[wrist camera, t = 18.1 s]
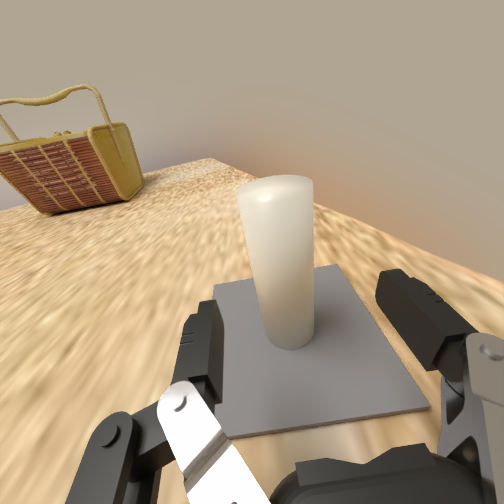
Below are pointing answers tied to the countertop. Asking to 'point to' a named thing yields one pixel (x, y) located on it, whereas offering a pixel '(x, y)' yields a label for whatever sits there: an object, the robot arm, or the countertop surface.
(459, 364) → the robot arm
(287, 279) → the cream cylinder
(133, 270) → the countertop surface
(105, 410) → the countertop surface
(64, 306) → the countertop surface
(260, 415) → the grey mat
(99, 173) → the picnic basket
